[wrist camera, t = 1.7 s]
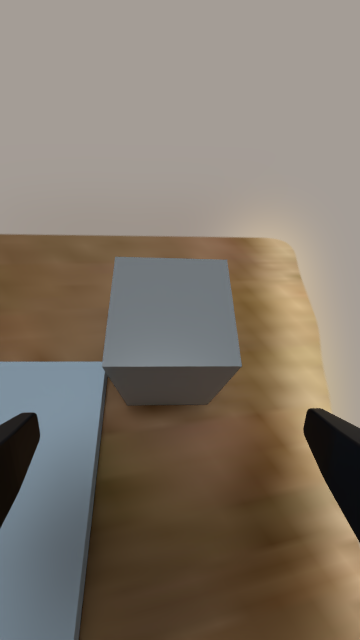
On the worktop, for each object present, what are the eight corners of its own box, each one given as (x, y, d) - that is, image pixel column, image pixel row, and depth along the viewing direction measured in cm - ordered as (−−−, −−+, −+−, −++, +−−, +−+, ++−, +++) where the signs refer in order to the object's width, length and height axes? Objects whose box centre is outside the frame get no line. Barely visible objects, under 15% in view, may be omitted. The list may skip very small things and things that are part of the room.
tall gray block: (207, 404, 21) (241, 366, 12) (127, 405, 20) (101, 366, 12) (202, 332, 24) (226, 259, 15) (132, 332, 23) (115, 256, 14)
